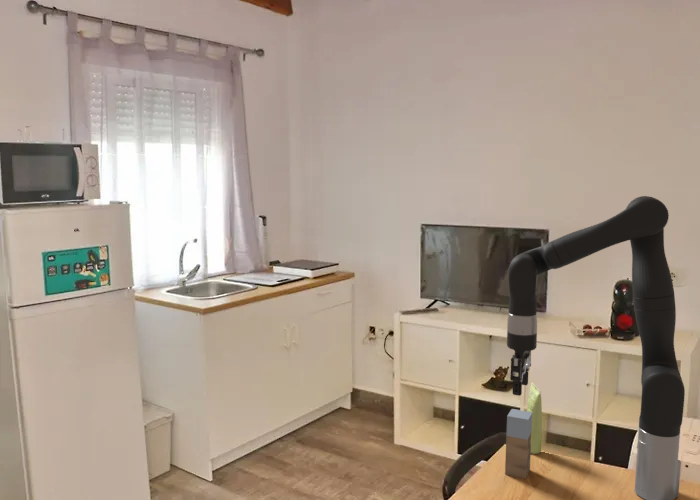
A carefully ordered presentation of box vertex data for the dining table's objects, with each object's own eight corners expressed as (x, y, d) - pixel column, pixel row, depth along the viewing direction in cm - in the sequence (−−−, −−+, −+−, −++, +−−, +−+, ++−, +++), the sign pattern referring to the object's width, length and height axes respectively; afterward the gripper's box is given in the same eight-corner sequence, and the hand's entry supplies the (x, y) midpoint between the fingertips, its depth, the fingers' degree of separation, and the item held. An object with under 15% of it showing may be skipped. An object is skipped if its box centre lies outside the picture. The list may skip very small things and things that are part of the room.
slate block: (511, 427, 172) (511, 408, 172) (531, 431, 170) (532, 412, 169) (506, 435, 168) (507, 415, 167) (527, 439, 165) (528, 419, 164)
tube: (546, 451, 183) (549, 386, 180) (537, 456, 179) (540, 391, 176) (529, 444, 187) (531, 381, 184) (519, 450, 183) (522, 385, 180)
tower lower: (509, 465, 174) (510, 446, 173) (529, 470, 171) (530, 450, 171) (504, 474, 169) (505, 455, 168) (525, 479, 167) (526, 459, 166)
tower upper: (510, 446, 173) (510, 427, 172) (530, 450, 171) (531, 431, 170) (505, 455, 168) (506, 435, 168) (526, 459, 166) (527, 439, 165)
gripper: (531, 338, 157) (529, 400, 159) (541, 325, 170) (539, 383, 172) (501, 335, 160) (499, 396, 162) (513, 322, 173) (512, 379, 175)
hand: (520, 389), depth 167 cm, fingers open, 8 cm apart
